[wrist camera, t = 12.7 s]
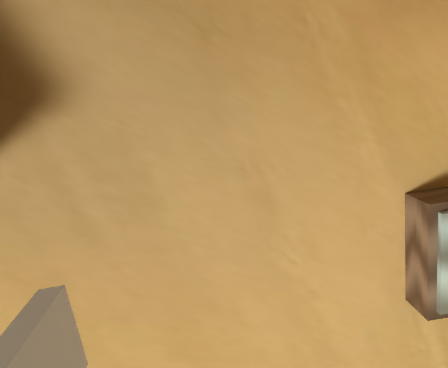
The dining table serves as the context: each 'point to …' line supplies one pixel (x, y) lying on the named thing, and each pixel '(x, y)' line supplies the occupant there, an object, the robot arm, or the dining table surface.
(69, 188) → the dining table surface
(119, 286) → the dining table surface
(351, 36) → the dining table surface
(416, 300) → the tray
